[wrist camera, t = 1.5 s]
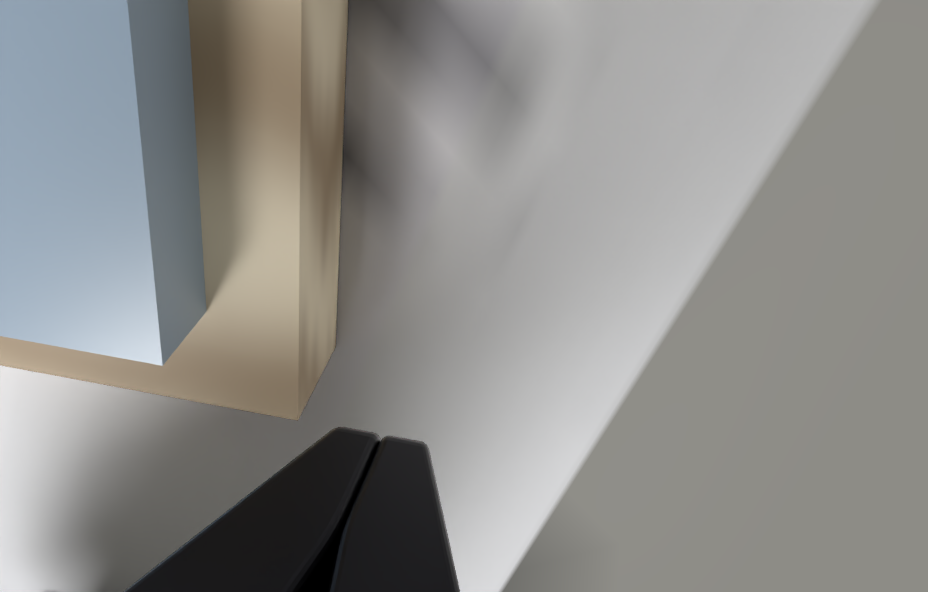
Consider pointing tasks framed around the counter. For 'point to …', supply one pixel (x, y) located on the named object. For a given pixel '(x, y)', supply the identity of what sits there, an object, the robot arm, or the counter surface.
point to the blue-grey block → (99, 177)
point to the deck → (252, 213)
